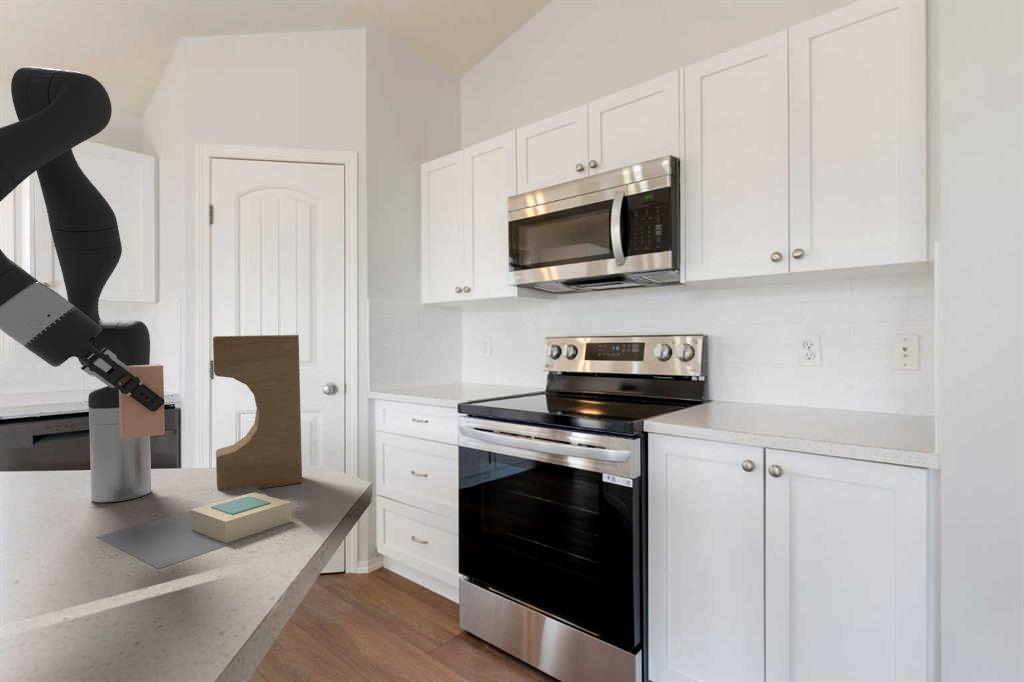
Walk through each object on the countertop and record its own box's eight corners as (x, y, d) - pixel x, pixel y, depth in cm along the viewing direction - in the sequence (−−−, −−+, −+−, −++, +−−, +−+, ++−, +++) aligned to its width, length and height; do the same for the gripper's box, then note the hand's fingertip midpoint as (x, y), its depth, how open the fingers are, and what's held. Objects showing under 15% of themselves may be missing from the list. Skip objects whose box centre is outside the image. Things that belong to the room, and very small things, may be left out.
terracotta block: (122, 439, 75) (120, 367, 75) (120, 434, 79) (118, 366, 78) (164, 434, 78) (163, 365, 78) (160, 429, 82) (158, 364, 82)
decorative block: (217, 495, 101) (213, 336, 100) (216, 486, 107) (212, 336, 107) (302, 483, 108) (298, 334, 108) (296, 475, 115) (293, 334, 114)
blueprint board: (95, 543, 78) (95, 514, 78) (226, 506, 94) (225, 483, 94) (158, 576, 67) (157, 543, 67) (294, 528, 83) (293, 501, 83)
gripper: (72, 302, 68) (185, 389, 76) (72, 306, 79) (171, 382, 87) (17, 345, 64) (141, 431, 72) (24, 343, 75) (131, 419, 83)
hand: (156, 404), depth 79 cm, fingers closed on terracotta block, 5 cm apart
